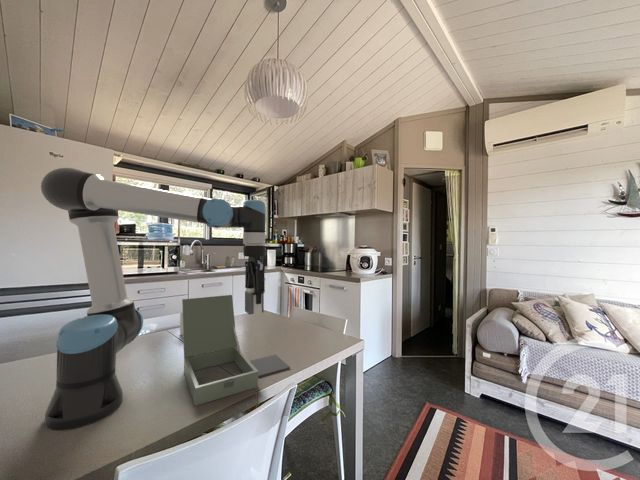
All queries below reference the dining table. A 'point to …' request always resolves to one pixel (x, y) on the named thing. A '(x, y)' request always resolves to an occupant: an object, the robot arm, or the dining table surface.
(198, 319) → the case
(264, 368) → the mat
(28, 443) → the dining table surface
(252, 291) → the block
